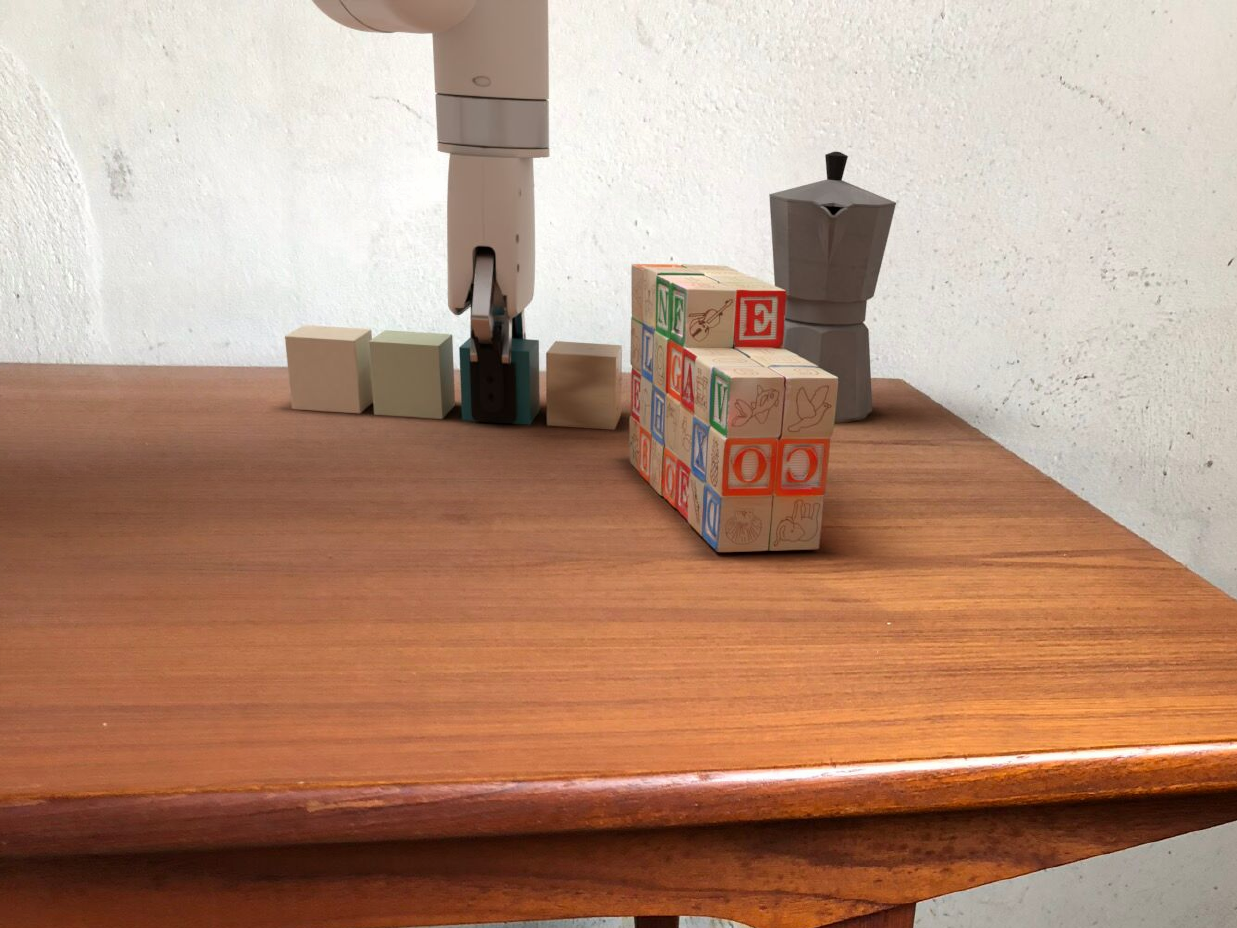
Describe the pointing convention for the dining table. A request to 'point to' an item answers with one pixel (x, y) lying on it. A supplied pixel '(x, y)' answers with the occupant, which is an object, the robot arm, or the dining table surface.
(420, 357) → the block
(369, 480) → the dining table surface
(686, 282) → the stack of blocks
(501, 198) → the robot arm
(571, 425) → the block
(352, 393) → the block
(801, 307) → the coffeepot
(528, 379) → the teal block
